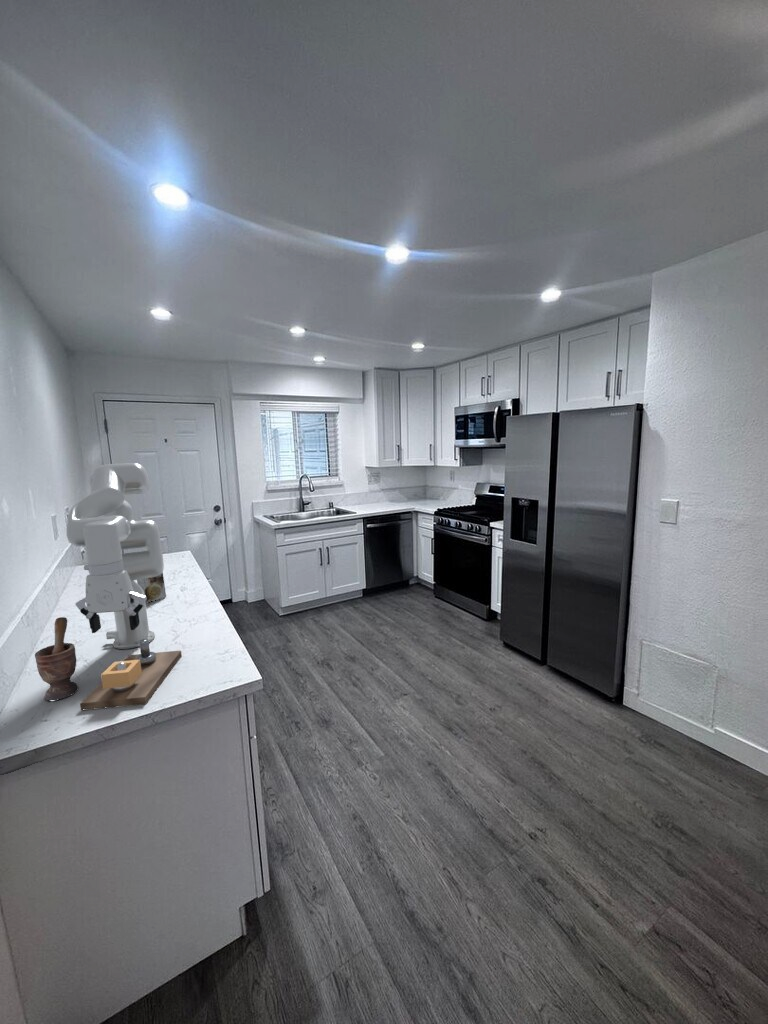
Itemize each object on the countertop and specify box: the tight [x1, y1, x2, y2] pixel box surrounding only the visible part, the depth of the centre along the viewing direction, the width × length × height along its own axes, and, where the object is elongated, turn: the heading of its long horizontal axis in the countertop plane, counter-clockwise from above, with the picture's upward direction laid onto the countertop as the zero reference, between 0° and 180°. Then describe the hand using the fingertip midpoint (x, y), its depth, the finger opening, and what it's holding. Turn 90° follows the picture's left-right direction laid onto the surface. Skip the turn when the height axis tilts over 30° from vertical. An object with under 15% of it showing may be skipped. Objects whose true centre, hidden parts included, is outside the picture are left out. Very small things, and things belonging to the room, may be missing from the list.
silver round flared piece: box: [113, 662, 135, 693], centre depth 115 cm, size 5×5×7 cm
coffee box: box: [136, 572, 167, 604], centre depth 191 cm, size 9×6×16 cm
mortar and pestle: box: [34, 616, 79, 701], centre depth 117 cm, size 12×9×20 cm
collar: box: [100, 660, 142, 689], centre depth 115 cm, size 7×7×4 cm
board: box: [79, 650, 183, 711], centre depth 123 cm, size 16×26×2 cm, turn 6°
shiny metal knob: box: [136, 639, 156, 666], centre depth 129 cm, size 5×5×7 cm
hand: (115, 629), depth 113 cm, fingers open, 9 cm apart
